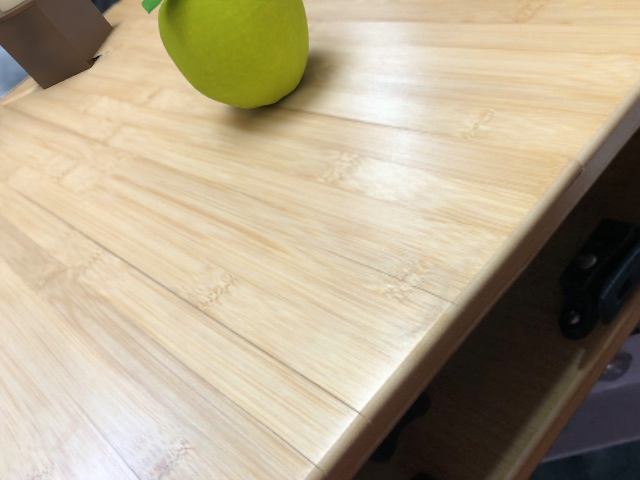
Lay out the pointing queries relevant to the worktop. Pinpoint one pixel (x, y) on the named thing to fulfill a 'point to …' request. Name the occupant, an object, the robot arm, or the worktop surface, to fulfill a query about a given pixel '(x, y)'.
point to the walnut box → (53, 37)
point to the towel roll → (9, 4)
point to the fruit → (236, 46)
